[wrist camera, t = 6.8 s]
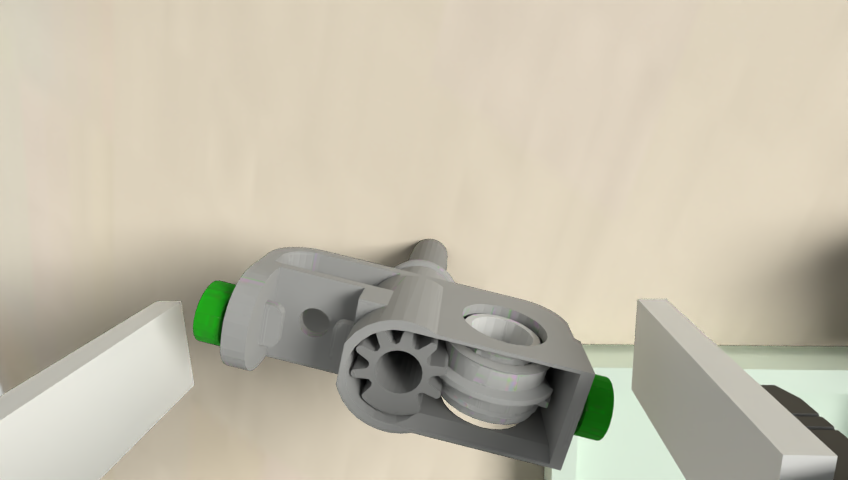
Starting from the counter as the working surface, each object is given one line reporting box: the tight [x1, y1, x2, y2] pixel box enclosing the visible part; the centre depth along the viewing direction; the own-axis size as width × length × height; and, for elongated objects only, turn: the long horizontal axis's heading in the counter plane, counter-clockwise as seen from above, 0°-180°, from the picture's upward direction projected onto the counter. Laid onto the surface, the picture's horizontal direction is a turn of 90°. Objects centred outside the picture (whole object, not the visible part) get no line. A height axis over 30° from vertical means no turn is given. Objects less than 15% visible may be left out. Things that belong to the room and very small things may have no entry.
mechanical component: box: [193, 239, 614, 471], centre depth 17 cm, size 3×10×10 cm, turn 77°
